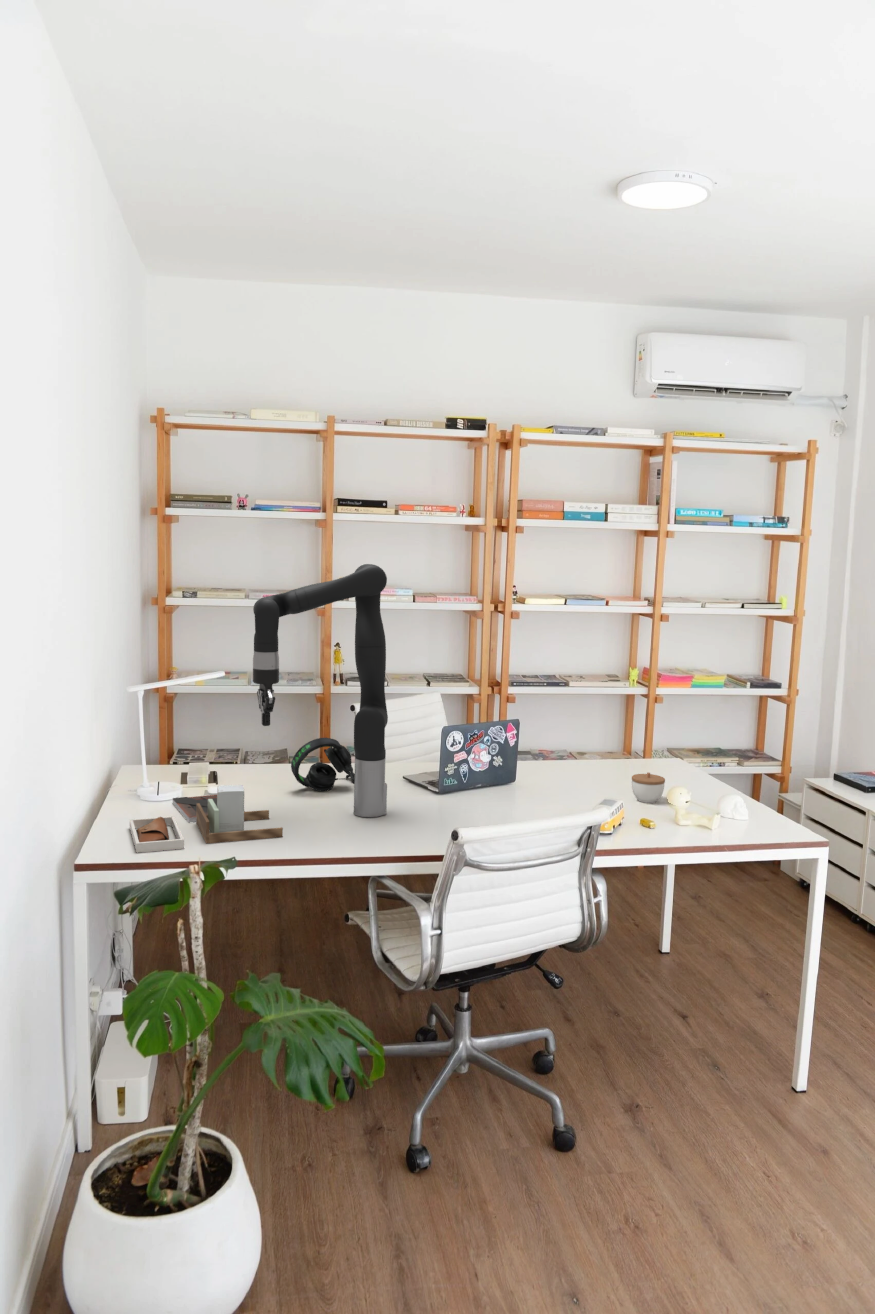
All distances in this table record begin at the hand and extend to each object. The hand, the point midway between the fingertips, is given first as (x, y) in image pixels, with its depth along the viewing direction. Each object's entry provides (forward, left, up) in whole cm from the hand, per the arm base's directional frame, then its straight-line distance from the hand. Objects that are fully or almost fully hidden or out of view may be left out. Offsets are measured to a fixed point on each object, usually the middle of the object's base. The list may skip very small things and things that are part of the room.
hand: (265, 725), depth 282 cm
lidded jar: (-124, +15, -28) cm, 128 cm away
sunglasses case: (+33, +11, -28) cm, 45 cm away
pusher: (+17, +11, -28) cm, 34 cm away
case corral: (+32, +12, -28) cm, 44 cm away
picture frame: (+15, -12, -29) cm, 34 cm away
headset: (-26, -28, -28) cm, 47 cm away
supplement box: (+12, +11, -28) cm, 32 cm away
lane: (+9, +11, -28) cm, 31 cm away
